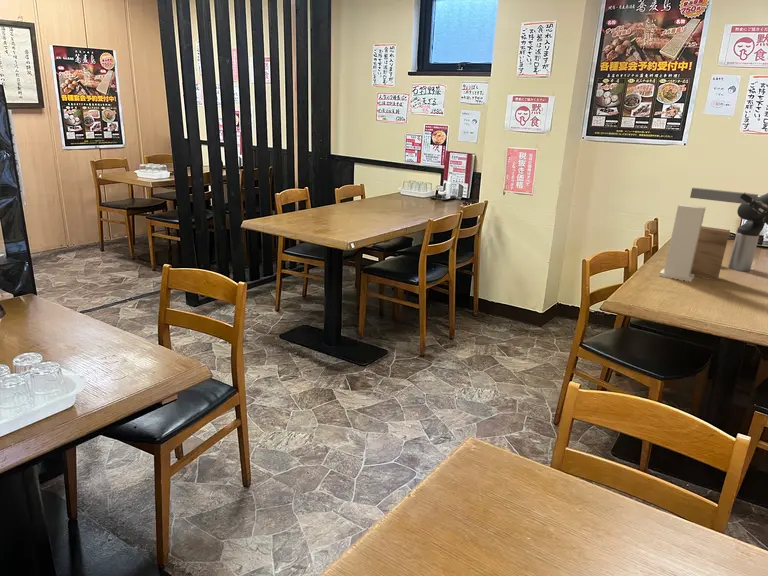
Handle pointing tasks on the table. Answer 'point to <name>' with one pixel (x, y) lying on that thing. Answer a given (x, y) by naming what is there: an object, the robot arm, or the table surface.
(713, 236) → the brown wooden block
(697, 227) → the tall stand
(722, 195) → the grey block
